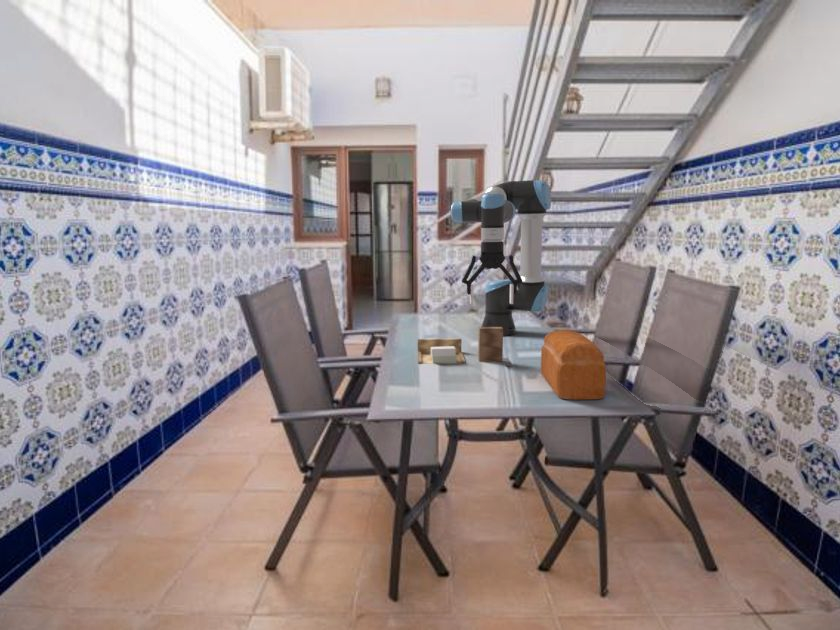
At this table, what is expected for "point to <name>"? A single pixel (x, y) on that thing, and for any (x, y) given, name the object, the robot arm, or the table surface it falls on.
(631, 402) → the table surface
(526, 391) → the table surface
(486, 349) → the walnut board
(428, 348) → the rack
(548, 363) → the bread
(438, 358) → the offcut lower
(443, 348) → the offcut upper
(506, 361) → the rubber mat
